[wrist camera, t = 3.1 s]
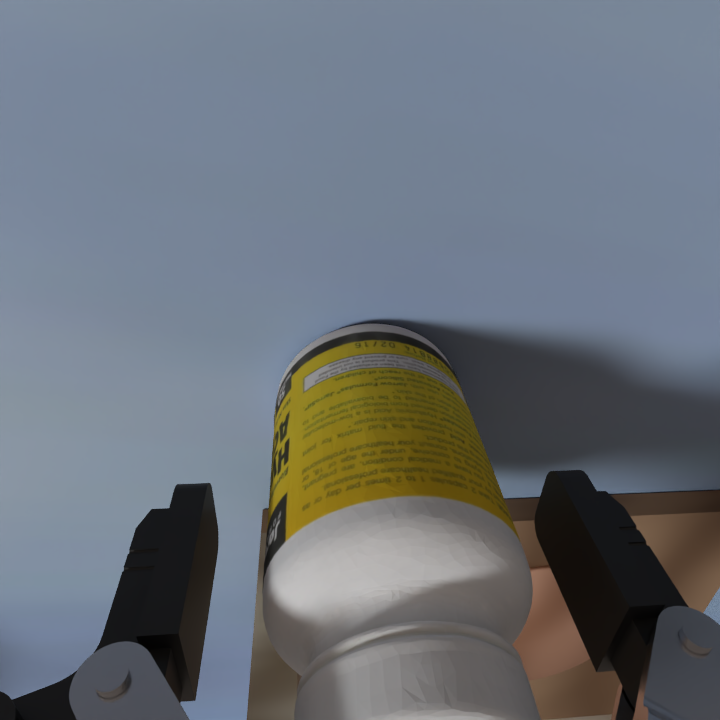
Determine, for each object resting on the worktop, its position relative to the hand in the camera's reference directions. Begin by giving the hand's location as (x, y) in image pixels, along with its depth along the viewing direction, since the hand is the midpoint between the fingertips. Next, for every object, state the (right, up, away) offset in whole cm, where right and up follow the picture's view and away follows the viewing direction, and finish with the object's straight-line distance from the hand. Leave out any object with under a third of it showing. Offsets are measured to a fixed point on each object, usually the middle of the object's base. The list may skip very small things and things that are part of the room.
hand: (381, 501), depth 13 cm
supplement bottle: (0, +2, +4) cm, 4 cm away
